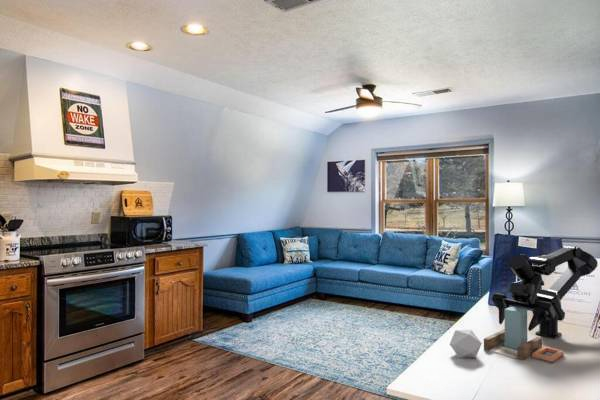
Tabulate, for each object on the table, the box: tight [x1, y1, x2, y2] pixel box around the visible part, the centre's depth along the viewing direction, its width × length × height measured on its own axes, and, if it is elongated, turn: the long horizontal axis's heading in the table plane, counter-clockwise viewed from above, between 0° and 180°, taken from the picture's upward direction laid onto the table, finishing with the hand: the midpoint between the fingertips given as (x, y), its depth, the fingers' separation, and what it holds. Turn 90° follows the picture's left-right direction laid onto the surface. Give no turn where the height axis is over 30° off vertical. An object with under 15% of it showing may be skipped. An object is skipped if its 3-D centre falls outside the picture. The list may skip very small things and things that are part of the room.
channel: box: [483, 328, 543, 361], centre depth 137 cm, size 14×12×4 cm
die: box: [449, 329, 483, 359], centre depth 132 cm, size 8×9×10 cm
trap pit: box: [531, 345, 565, 364], centre depth 130 cm, size 9×6×2 cm, turn 129°
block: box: [504, 306, 528, 350], centre depth 139 cm, size 5×5×12 cm
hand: (514, 326), depth 138 cm, fingers open, 9 cm apart
